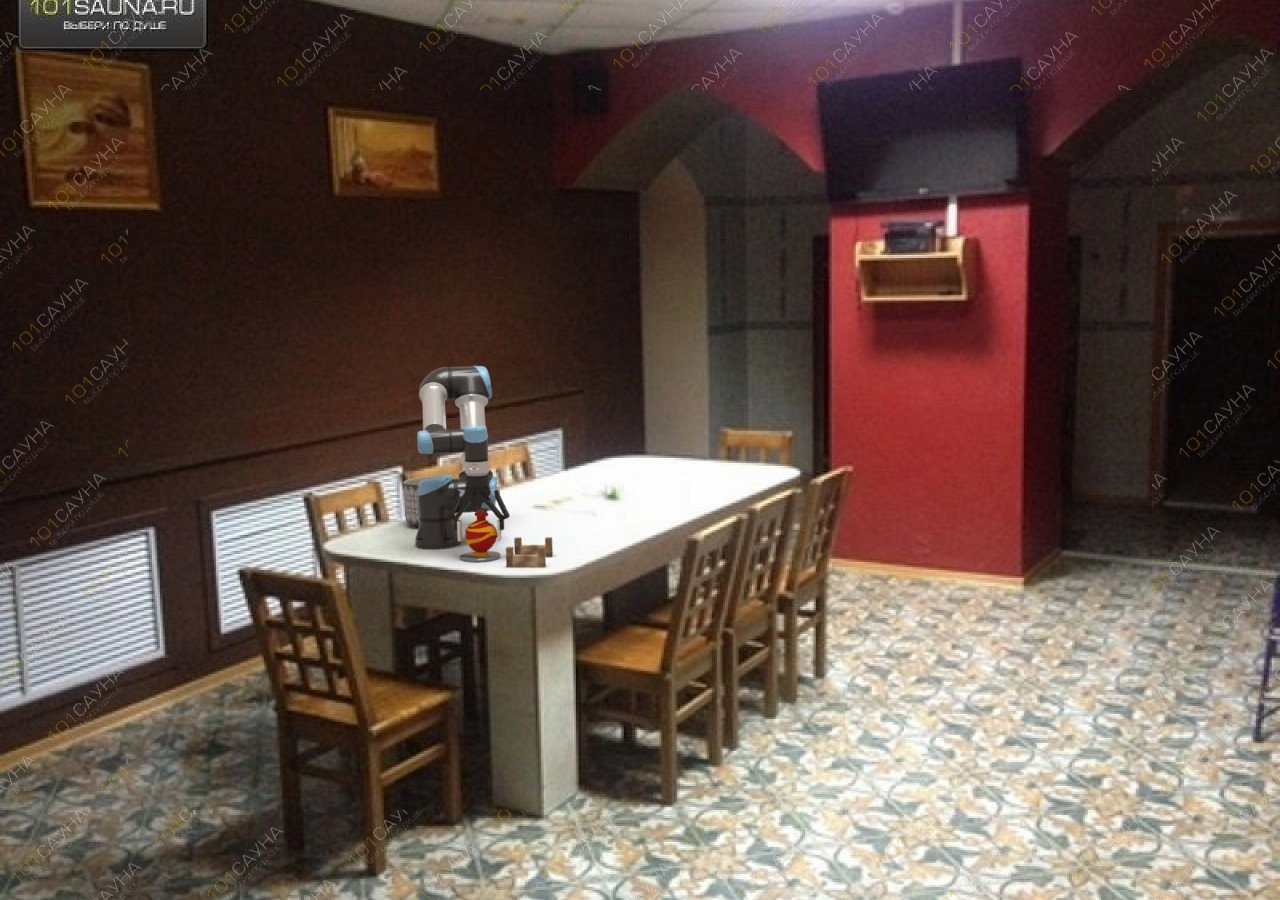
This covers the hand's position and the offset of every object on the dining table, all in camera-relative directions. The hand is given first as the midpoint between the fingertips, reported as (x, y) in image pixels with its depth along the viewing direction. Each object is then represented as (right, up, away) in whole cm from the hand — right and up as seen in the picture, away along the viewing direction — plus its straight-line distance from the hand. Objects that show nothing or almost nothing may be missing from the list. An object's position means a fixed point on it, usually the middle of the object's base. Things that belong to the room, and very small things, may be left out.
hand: (479, 540), depth 375 cm
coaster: (0, -6, +1) cm, 6 cm away
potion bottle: (0, -5, +1) cm, 5 cm away
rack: (+17, -6, -6) cm, 19 cm away
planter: (-25, +1, +57) cm, 62 cm away
